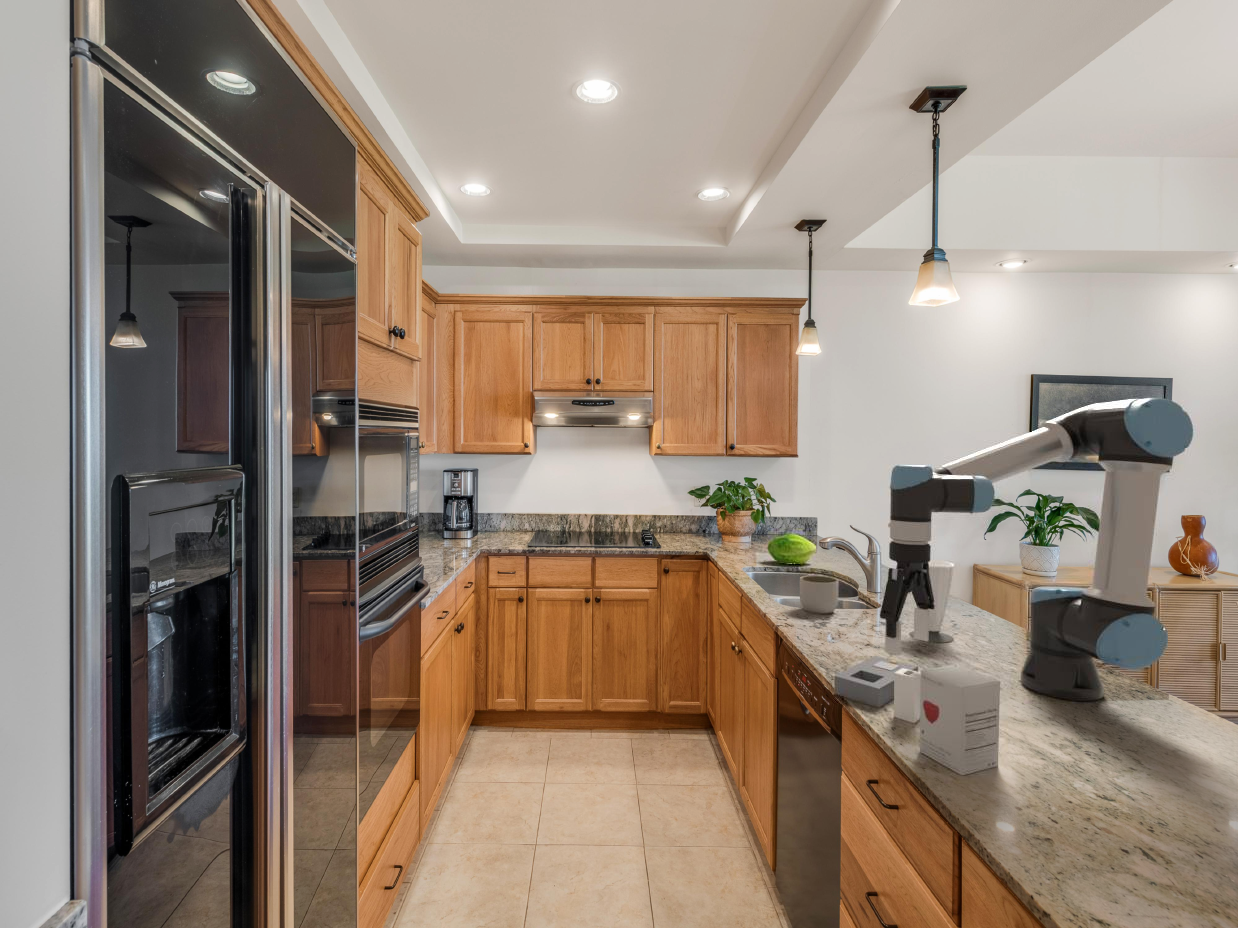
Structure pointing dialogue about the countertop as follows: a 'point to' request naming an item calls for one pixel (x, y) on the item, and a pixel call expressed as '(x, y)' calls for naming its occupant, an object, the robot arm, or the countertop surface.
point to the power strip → (870, 680)
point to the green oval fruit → (791, 549)
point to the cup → (939, 599)
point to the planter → (818, 594)
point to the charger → (907, 695)
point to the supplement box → (959, 718)
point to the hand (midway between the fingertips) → (907, 646)
